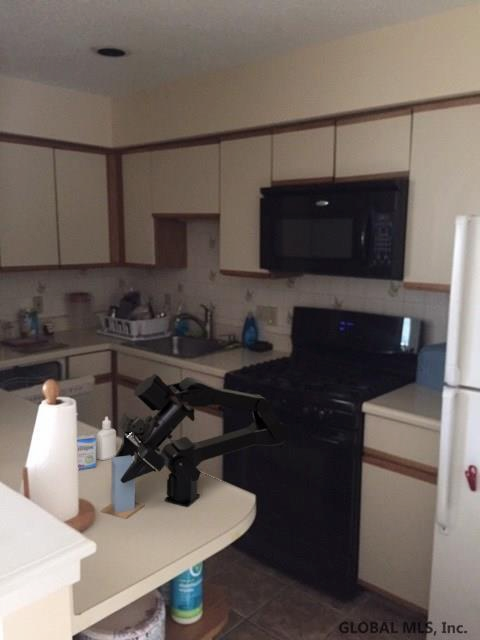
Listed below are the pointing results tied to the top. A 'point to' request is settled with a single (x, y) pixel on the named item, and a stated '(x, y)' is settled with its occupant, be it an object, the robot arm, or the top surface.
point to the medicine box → (86, 451)
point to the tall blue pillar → (122, 485)
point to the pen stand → (125, 514)
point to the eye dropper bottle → (106, 441)
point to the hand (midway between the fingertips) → (117, 473)
